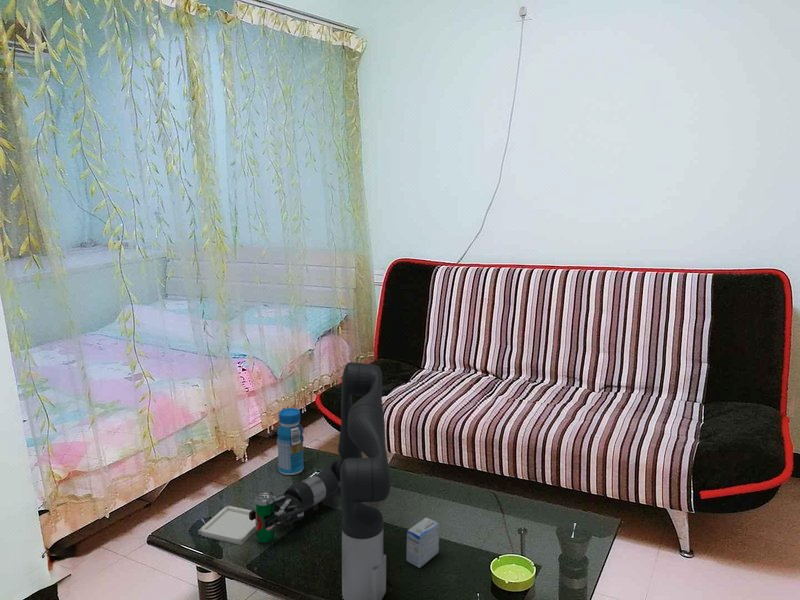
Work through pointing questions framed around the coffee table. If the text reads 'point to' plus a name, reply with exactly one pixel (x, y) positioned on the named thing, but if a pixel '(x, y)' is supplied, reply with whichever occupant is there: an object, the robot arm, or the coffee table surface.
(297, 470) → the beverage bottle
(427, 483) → the coffee table surface
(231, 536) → the tray
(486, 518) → the coffee table surface
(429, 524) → the medicine box
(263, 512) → the soda can
